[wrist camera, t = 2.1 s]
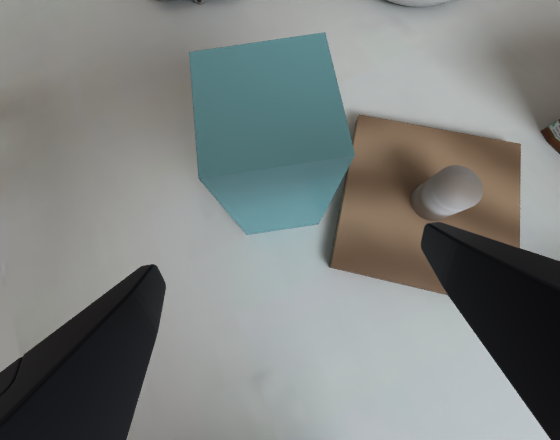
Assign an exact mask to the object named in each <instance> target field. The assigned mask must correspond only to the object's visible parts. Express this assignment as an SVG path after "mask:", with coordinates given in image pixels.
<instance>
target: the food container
mask: <svg viewBox="0 0 560 440" xmlns="http://www.w3.org/2000/svg"><path fill="white" fill-rule="evenodd" d="M541 133H542V134H543V136H544V137H545V139H546V141H547V142H548V143H549V144H550V145H551V146H552V147H553V148H554V149H555V150H556V151H557V152H558V153H559V154H560V119H559V120H557V121H556V122H554V123H553V124H551V125H550V126H548V127H546V128H545V129H543V130H542V131H541Z"/></svg>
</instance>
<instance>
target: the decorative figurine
mask: <svg viewBox="0 0 560 440" xmlns="http://www.w3.org/2000/svg"><path fill="white" fill-rule="evenodd" d="M387 1H390V2H393V3H396V4H400V5H404V6H413V7H423V6H432V5H437V4H441V3H444V2H447V1H450V0H387Z"/></svg>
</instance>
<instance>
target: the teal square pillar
mask: <svg viewBox="0 0 560 440" xmlns="http://www.w3.org/2000/svg"><path fill="white" fill-rule="evenodd" d="M189 55H190V69H191V82H192V96H193V109H194V123H195V136H196V150H197V163H198V177H199V179H200V181H201V182H202V183H203V184H204V185H205V187H206V188H207V189H208V190H209V191H210V192H211V194H212V195H213V196H214V197H215V198H216V199H217V201H218V202H219V203H220V204H221V205H222V206H223V208H224V209H225V210H226V211H227V212H228V213H229V215H230V216H231V217H232V218H233V219H234V220H235V222H236V223H237V224H238V225H239V226H240V227H241V229H242V230H243V231H244V232H245V233H246V235H249V234H256V233H262V232H269V231H276V230H282V229H289V228H295V227H302V226H309V225H315V224H319V222H320V220H321V218H322V216H323V214H324V212H325V211H326V209H327V207H328V205H329V203H330V201H331V199H332V198H333V196H334V194H335V192H336V190H337V188H338V186H339V184H340V183H341V181H342V179H343V177H344V175H345V173H346V171H347V169H348V168H349V166H350V164H351V162H352V160H353V158H354V156H355V152H354V148H353V144H352V140H351V136H350V132H349V128H348V124H347V120H346V116H345V112H344V107H343V103H342V99H341V95H340V91H339V87H338V83H337V79H336V75H335V71H334V67H333V63H332V59H331V55H330V50H329V46H328V42H327V38H326V34H325V33H318V34H311V35H304V36H297V37H290V38H283V39H276V40H269V41H262V42H256V43H249V44H242V45H235V46H228V47H221V48H214V49H207V50H200V51H193V52H189Z"/></svg>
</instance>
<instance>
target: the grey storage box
mask: <svg viewBox="0 0 560 440" xmlns="http://www.w3.org/2000/svg"><path fill="white" fill-rule="evenodd" d="M204 1H205V0H195V2H197V3H199V4H203V3H204Z"/></svg>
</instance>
